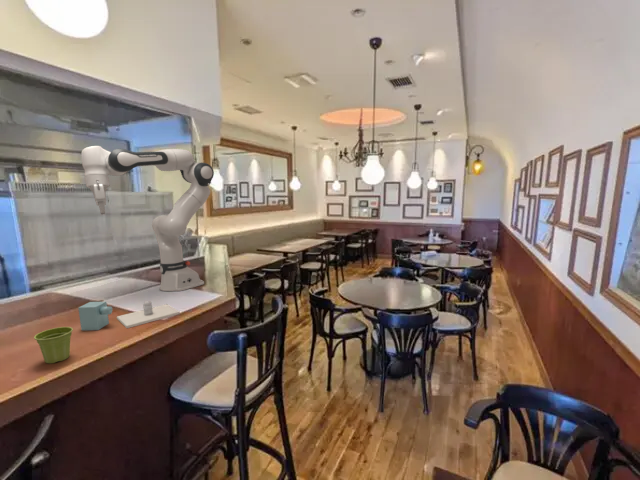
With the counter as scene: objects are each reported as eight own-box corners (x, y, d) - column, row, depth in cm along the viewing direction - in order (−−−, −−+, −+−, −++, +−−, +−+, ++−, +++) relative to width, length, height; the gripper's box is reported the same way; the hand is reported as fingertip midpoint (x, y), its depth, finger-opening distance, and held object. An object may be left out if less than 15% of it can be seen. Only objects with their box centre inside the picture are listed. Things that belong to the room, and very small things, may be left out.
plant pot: (55, 351, 109) (51, 326, 108) (83, 351, 109) (79, 326, 107) (29, 366, 100) (25, 339, 98) (60, 366, 99) (56, 339, 98)
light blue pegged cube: (93, 323, 132) (90, 301, 130) (117, 323, 132) (114, 301, 130) (81, 330, 126) (78, 307, 124) (106, 329, 125) (103, 307, 124)
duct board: (167, 306, 150) (165, 292, 149) (179, 313, 140) (178, 298, 139) (116, 318, 136) (115, 303, 135) (126, 328, 126) (124, 311, 125)
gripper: (105, 178, 141) (111, 210, 142) (106, 185, 159) (111, 214, 160) (88, 179, 138) (93, 212, 139) (90, 186, 155) (95, 216, 156)
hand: (103, 213), depth 149 cm, fingers open, 8 cm apart
